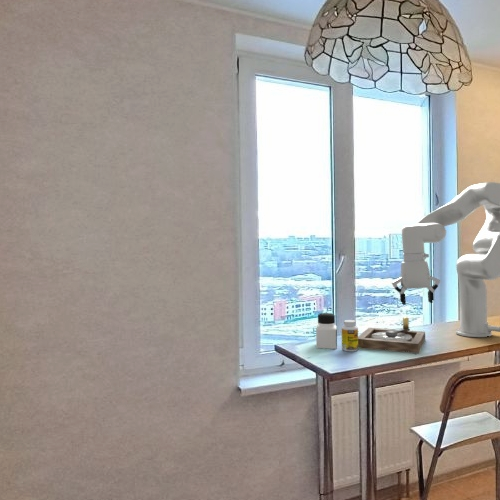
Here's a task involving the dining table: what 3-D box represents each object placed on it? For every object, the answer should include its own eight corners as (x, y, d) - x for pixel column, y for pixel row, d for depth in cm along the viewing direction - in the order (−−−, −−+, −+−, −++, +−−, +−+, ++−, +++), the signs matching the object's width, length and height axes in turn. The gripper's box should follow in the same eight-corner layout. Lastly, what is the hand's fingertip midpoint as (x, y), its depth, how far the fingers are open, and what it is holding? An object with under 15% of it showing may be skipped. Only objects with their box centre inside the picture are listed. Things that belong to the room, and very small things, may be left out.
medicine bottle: (336, 349, 154) (336, 315, 154) (316, 348, 155) (315, 315, 155) (337, 344, 161) (336, 311, 161) (317, 343, 162) (316, 311, 162)
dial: (395, 346, 150) (394, 325, 150) (363, 339, 162) (363, 320, 161) (424, 339, 159) (423, 320, 159) (392, 333, 171) (392, 315, 171)
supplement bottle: (346, 352, 149) (346, 322, 149) (339, 348, 154) (338, 320, 154) (361, 351, 150) (360, 321, 150) (353, 347, 156) (352, 318, 155)
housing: (425, 340, 164) (425, 331, 164) (418, 353, 146) (418, 343, 146) (368, 335, 174) (368, 327, 174) (355, 347, 155) (355, 338, 155)
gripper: (435, 255, 166) (438, 300, 167) (388, 259, 169) (391, 302, 169) (441, 256, 159) (444, 303, 160) (392, 260, 161) (395, 306, 162)
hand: (417, 303), depth 164 cm, fingers open, 9 cm apart
